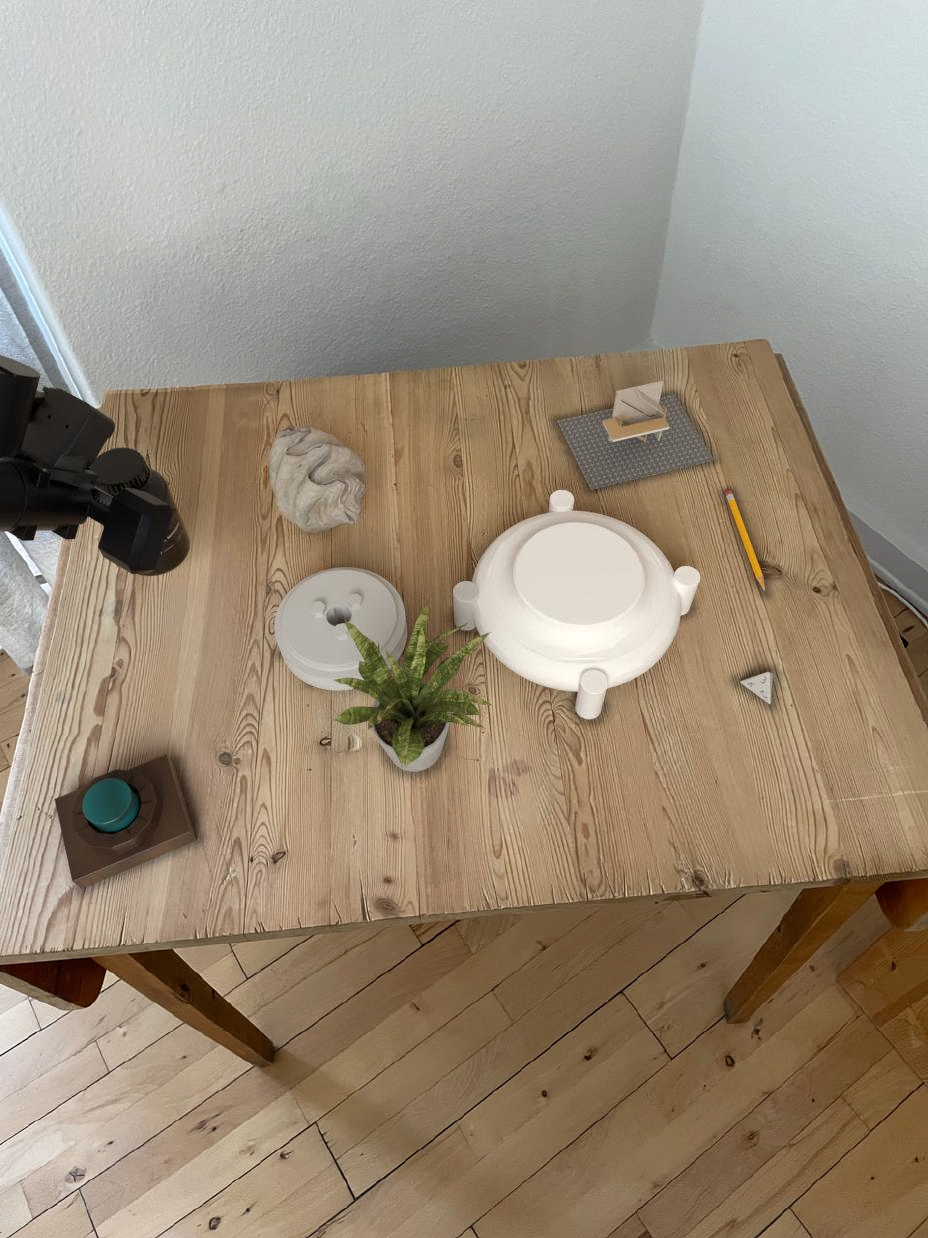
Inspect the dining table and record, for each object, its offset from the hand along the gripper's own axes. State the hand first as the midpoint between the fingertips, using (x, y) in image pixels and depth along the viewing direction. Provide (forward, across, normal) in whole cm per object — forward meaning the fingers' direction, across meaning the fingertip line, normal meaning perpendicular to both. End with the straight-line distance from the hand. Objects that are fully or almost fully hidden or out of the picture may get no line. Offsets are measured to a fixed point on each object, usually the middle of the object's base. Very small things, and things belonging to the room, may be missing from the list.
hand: (146, 497), depth 81 cm
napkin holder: (+39, -31, -21) cm, 54 cm away
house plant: (+6, -33, +11) cm, 35 cm away
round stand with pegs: (+21, -37, -4) cm, 43 cm away
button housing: (-7, -14, +25) cm, 30 cm away
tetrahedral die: (+23, -56, -5) cm, 60 cm away
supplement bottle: (+4, 0, +6) cm, 7 cm away
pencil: (+34, -48, -16) cm, 61 cm away
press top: (-10, -15, +22) cm, 28 cm away
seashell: (+20, -7, -2) cm, 21 cm away
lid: (+11, -19, +7) cm, 23 cm away
